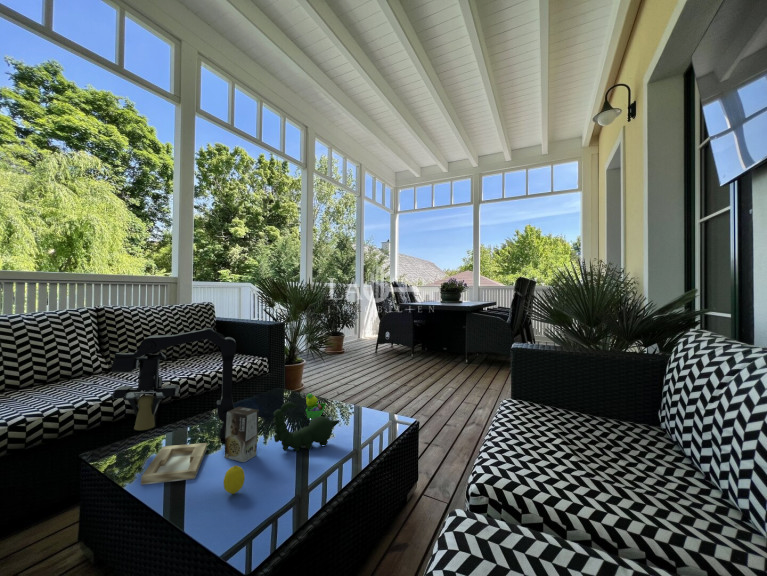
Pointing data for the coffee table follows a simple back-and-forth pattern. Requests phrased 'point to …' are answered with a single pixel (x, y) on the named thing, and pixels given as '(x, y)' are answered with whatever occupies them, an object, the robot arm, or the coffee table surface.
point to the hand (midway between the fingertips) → (145, 415)
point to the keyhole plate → (175, 463)
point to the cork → (145, 413)
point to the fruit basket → (314, 407)
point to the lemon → (234, 479)
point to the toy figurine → (302, 430)
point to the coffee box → (241, 434)
